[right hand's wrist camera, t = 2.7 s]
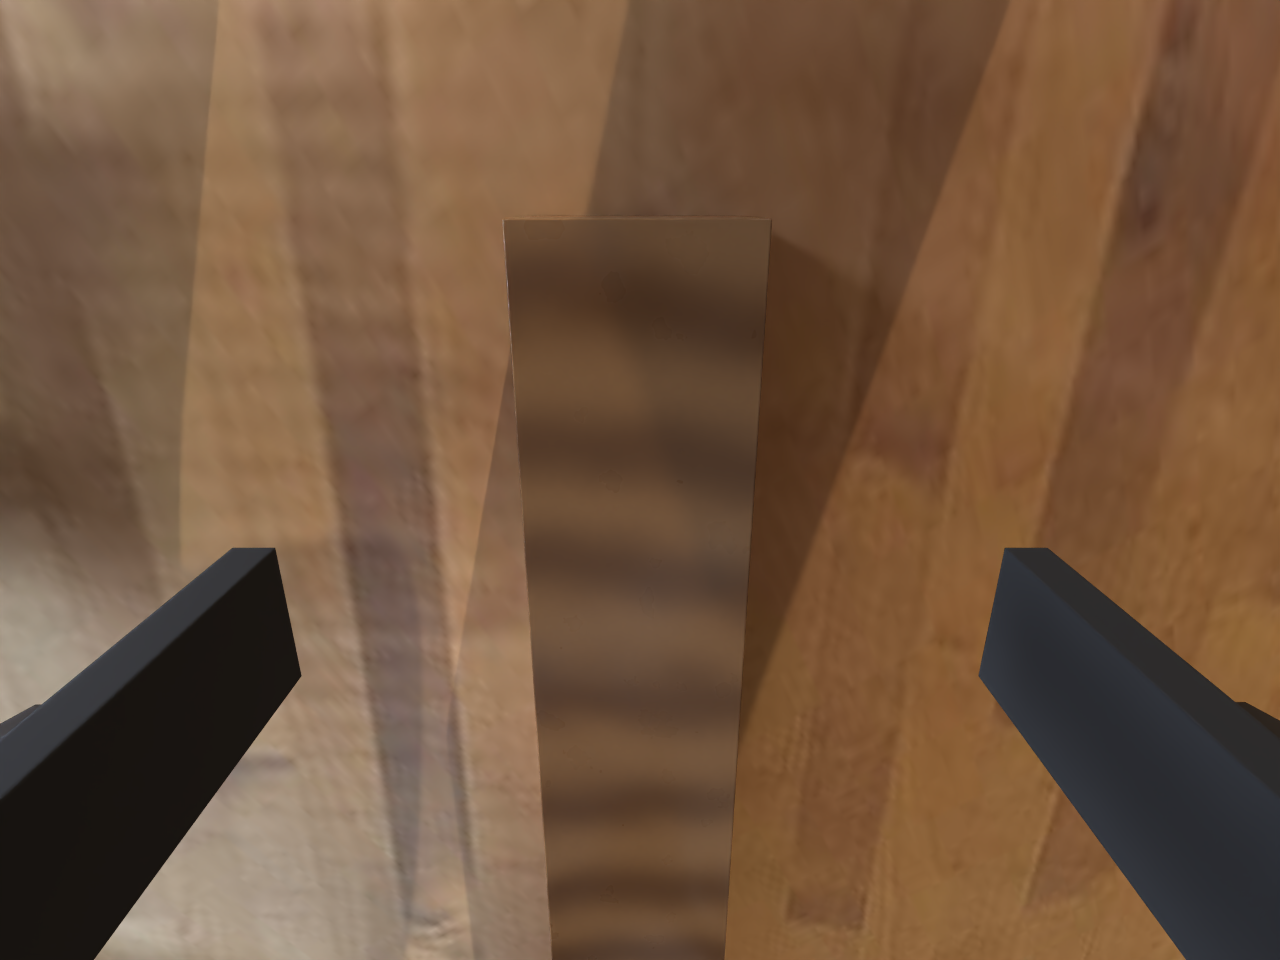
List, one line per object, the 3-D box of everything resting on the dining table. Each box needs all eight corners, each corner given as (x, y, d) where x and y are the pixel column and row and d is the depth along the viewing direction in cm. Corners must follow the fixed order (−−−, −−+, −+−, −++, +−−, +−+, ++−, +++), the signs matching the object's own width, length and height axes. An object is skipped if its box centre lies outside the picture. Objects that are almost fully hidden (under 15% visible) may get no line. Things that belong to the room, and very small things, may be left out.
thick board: (532, 215, 30) (502, 218, 23) (742, 215, 30) (772, 218, 23) (578, 1090, 51) (569, 1219, 45) (698, 1090, 51) (707, 1218, 45)
